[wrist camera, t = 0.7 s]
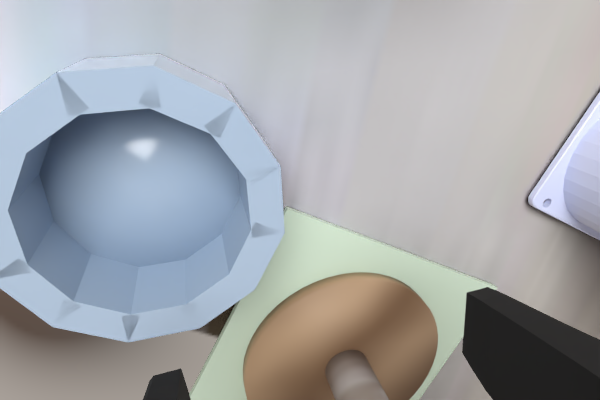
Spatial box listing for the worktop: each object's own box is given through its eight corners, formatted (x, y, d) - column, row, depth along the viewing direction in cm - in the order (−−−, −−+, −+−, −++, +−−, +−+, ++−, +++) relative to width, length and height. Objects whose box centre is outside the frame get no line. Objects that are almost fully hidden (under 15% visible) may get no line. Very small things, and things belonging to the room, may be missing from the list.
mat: (494, 284, 25) (497, 287, 25) (376, 453, 29) (378, 458, 28) (286, 206, 20) (287, 208, 19) (172, 426, 23) (172, 431, 23)
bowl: (300, 120, 18) (330, 146, 15) (211, 300, 21) (217, 360, 17) (57, 5, 14) (16, 2, 11) (-17, 241, 17) (-70, 302, 13)
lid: (464, 301, 25) (530, 368, 20) (371, 438, 27) (410, 525, 23) (300, 245, 20) (336, 314, 16) (209, 415, 23) (217, 516, 18)
